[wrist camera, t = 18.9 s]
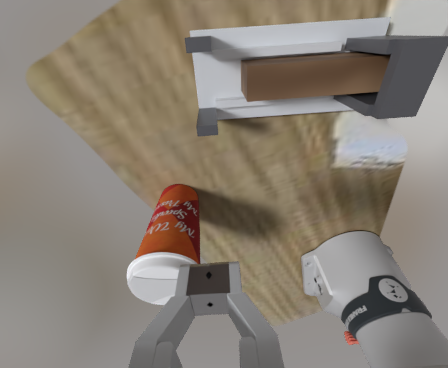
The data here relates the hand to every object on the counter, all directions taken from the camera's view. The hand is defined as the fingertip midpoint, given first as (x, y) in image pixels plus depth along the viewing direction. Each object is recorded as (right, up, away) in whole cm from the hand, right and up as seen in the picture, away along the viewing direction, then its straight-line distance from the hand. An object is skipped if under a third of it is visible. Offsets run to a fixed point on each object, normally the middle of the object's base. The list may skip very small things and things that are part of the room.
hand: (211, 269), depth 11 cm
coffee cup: (-7, +2, +24) cm, 25 cm away
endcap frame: (+7, +17, +14) cm, 24 cm away
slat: (+10, +17, +13) cm, 23 cm away
